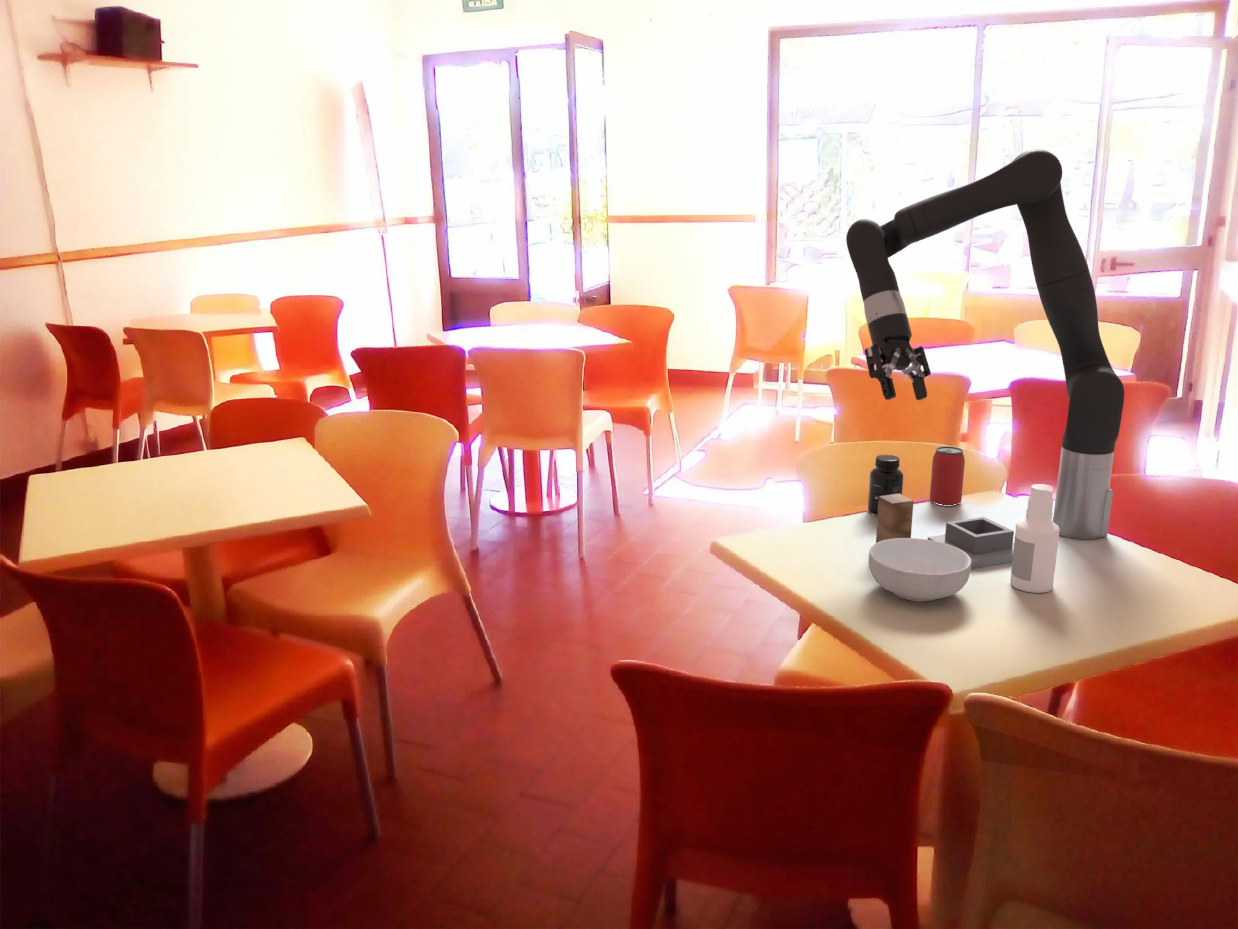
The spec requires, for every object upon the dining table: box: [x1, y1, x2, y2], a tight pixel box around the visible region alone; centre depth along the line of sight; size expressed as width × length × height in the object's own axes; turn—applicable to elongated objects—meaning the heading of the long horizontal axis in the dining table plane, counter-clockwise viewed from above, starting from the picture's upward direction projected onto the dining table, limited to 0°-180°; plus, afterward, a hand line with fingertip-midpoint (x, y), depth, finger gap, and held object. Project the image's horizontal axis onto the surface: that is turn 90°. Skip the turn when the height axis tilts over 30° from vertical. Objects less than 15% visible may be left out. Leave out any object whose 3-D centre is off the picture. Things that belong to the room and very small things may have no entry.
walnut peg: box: [875, 494, 914, 543], centre depth 180 cm, size 4×4×11 cm
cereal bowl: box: [868, 537, 972, 603], centre depth 164 cm, size 17×17×7 cm
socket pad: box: [927, 516, 1015, 570], centre depth 181 cm, size 13×13×5 cm
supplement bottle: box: [867, 454, 904, 516], centre depth 203 cm, size 7×7×12 cm
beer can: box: [929, 445, 966, 505], centre depth 208 cm, size 7×7×12 cm
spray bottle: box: [1009, 483, 1060, 594], centre depth 164 cm, size 7×7×18 cm
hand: (906, 398), depth 182 cm, fingers open, 8 cm apart
